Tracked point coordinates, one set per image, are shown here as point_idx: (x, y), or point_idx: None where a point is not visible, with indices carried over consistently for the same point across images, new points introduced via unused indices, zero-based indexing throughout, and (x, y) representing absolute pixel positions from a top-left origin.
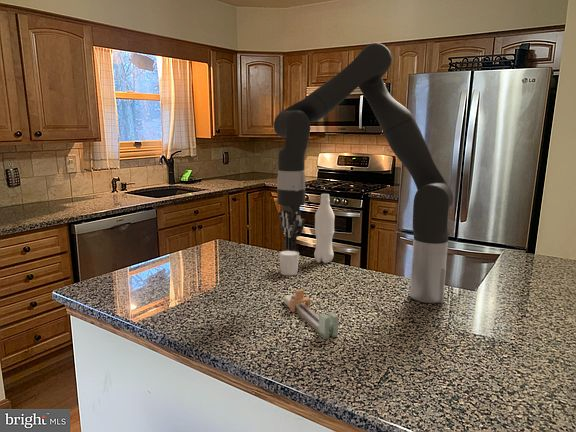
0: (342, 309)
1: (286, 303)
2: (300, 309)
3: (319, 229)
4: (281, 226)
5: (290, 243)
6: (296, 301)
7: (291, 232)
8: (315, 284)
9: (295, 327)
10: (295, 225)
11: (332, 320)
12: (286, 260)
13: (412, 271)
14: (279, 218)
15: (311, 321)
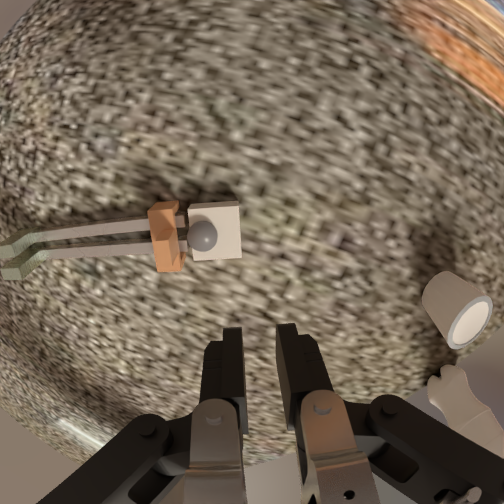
0: (148, 328)
1: (216, 203)
2: (137, 225)
3: (476, 424)
4: (420, 423)
5: (222, 369)
6: (150, 225)
7: (147, 449)
8: (335, 330)
9: (70, 182)
10: (42, 502)
11: (9, 264)
12: (452, 303)
13: (182, 479)
14: (488, 455)
15: (67, 228)
